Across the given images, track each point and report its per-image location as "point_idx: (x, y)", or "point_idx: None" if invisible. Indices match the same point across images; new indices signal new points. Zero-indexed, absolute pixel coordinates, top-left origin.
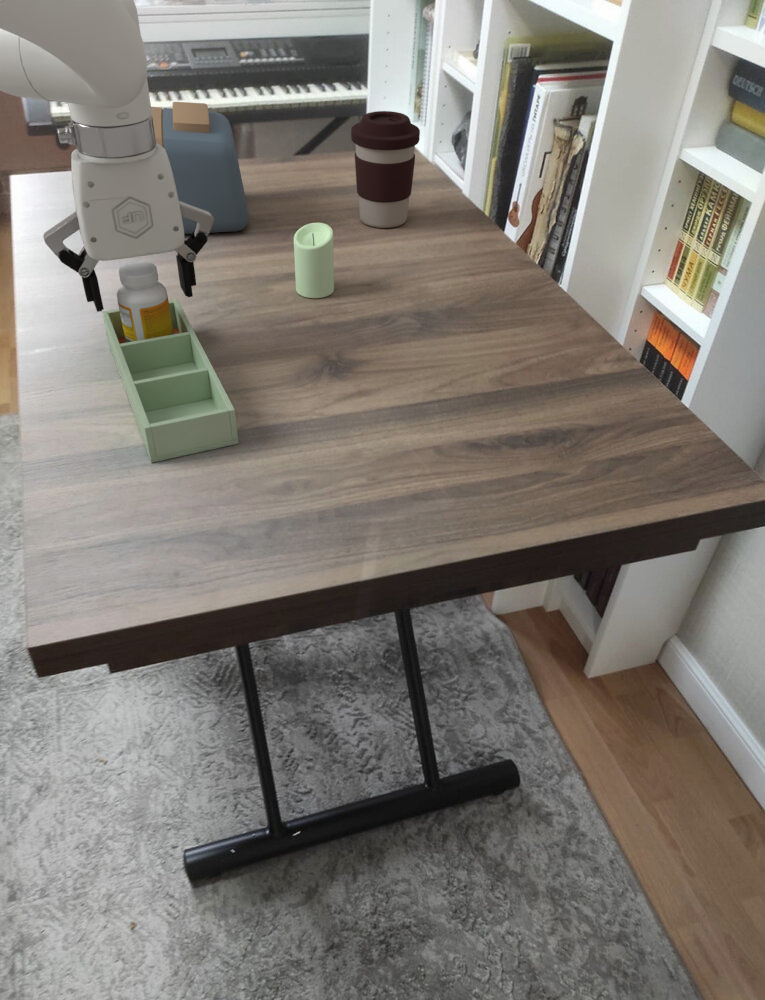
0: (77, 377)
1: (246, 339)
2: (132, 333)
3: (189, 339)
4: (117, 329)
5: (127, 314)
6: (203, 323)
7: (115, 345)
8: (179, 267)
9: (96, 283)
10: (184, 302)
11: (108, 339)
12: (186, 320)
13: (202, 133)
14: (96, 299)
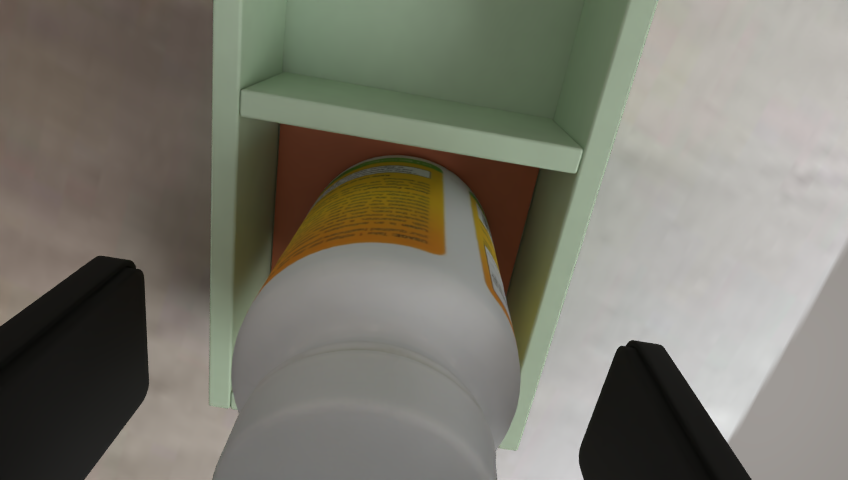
0: (686, 217)
1: (44, 159)
2: (484, 236)
3: (254, 85)
4: None
5: (499, 287)
6: (172, 334)
7: (602, 166)
8: (54, 452)
9: (706, 472)
10: (198, 470)
11: None
12: (219, 225)
13: None
14: (681, 387)
